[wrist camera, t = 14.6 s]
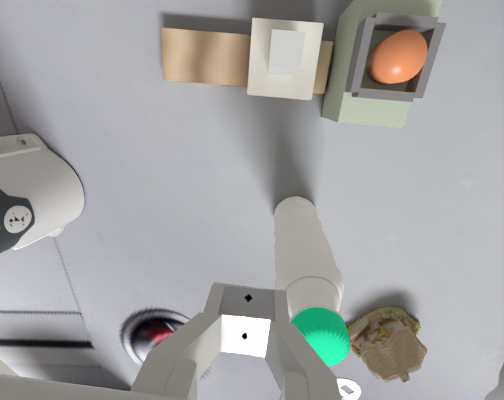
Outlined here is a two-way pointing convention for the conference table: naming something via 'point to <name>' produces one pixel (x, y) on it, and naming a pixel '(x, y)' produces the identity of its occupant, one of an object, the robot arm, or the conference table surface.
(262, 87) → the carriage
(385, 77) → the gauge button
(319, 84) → the block
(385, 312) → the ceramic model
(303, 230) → the water bottle
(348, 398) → the cable organizer
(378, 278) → the conference table surface
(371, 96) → the end cabinet
